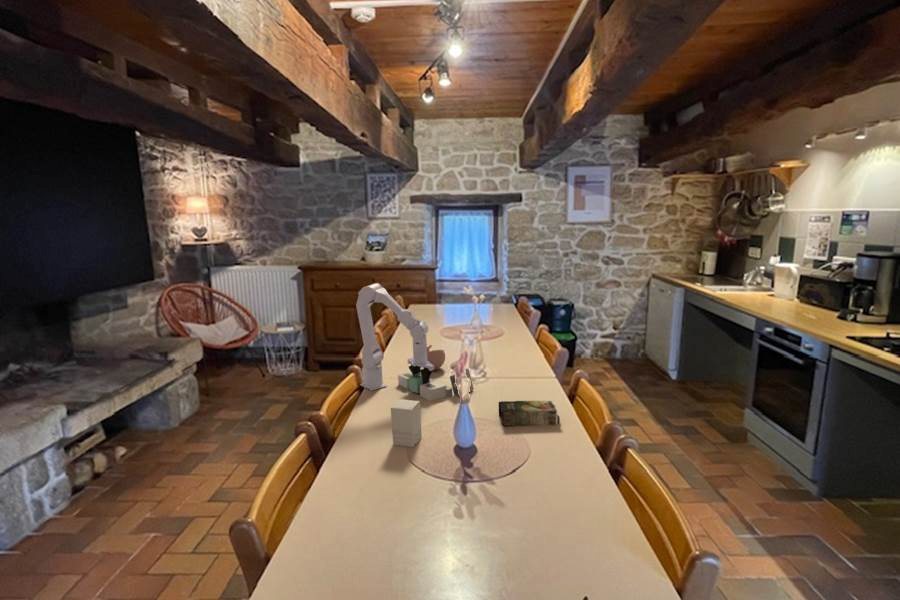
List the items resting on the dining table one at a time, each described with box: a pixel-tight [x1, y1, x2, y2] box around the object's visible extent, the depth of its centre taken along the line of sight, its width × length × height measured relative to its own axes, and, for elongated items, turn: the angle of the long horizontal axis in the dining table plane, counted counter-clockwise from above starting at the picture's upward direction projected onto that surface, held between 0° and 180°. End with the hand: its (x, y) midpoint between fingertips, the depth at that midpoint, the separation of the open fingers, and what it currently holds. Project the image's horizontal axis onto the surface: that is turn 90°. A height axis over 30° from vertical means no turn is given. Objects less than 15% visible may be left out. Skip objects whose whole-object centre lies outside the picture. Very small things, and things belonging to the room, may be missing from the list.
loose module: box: [409, 372, 431, 394], centre depth 192 cm, size 5×7×6 cm
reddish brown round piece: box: [427, 344, 446, 371], centre depth 219 cm, size 12×12×12 cm
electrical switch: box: [449, 368, 475, 397], centre depth 190 cm, size 9×5×9 cm, turn 141°
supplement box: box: [390, 398, 423, 448], centre depth 149 cm, size 7×7×13 cm
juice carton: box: [498, 400, 561, 427], centre depth 163 cm, size 20×10×6 cm, turn 91°
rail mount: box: [397, 370, 453, 402], centre depth 194 cm, size 26×10×5 cm, turn 37°
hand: (421, 383), depth 193 cm, fingers closed on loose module, 5 cm apart
